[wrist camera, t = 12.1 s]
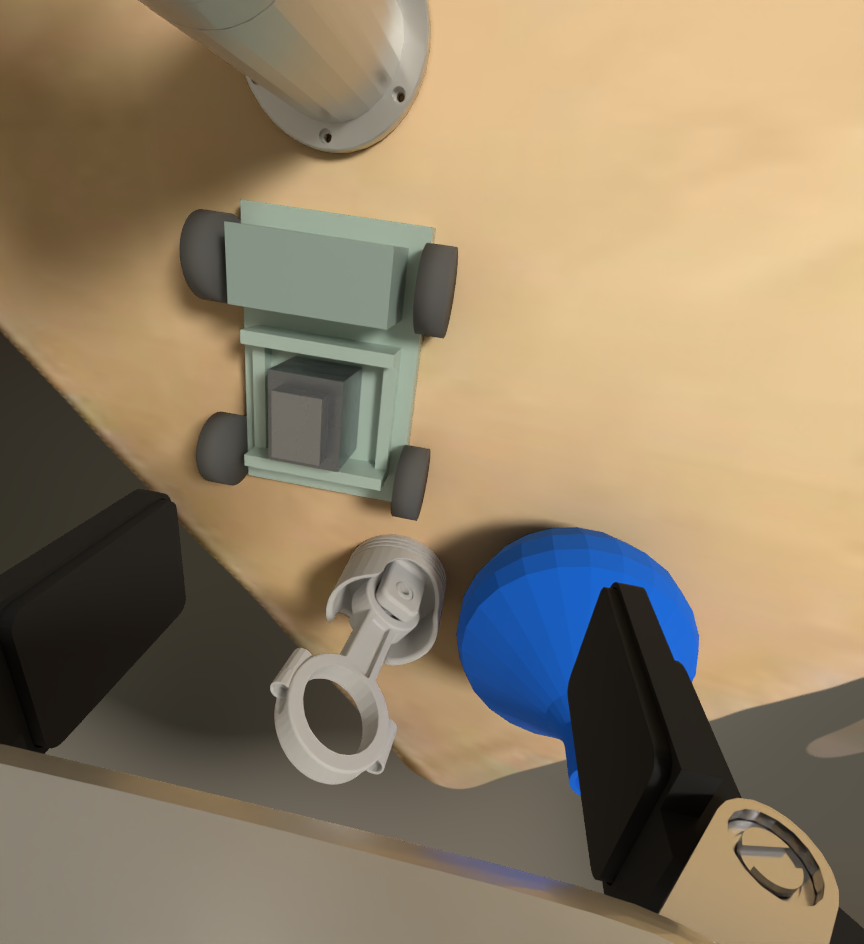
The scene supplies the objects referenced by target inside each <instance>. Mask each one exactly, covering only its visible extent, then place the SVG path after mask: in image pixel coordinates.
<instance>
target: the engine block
mask: <svg viewBox="0 0 864 944" xmlns="http://www.w3.org/2000/svg"><path fill="white" fill-rule="evenodd" d="M362 370H363V367H357V366H351V365H346V364H340V363H334V362H328V361H322V360H316V359H311V358H305V357H299V356H295V357H293V358H290V359H288V360H286V361H284V362H282V363H280V364H278V365H276V366H274V367H271V368H269V369H268V457H269V459H270V460H275V461H280V462H286V463H291V464H296V465H302V466H307V467H312V468H318V469H323V470H328V471H333V472H339V470H340V469H341V468H342V466H343V465H344V464H345V463H346V461H347V460H348V459H349V457H350V456H351V455H352V454H353V452H354V451H355V450H356V448H357V435H358V422H359V409H360V396H361V383H362Z"/></svg>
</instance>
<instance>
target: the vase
mask: <svg viewBox="0 0 864 944" xmlns="http://www.w3.org/2000/svg"><path fill="white" fill-rule="evenodd" d="M614 582H618V583H624V584H629V585H634V586H639V587H643V588H644V589H645V590H646V592H647V595H648V597H649V600H650V602H651V604H652V607H653V609H654V612H655V614H656V616H657V619H658V621H659V624H660V626H661V629H662V631H663V633H664V636H665V638H666V641H667V643H668V645H669V648H670V650H671V653H672V655H673V657H674V660H676V661H679V662H680V663H681V664H683V666H684V668H685V669H686V671H687V673H688V675H689V678H690V680H691V682H692V681H693V679H694V677H695V675H696V666H697V658H698V647H699V634H698V630H697V627H696V623H695V619H694V615H693V611H692V609H691V608H690V606H689V604H688V602H687V600H686V599H685V597H684V595H683V593H682V592H681V590H680V589H679V587H678V586H677V584H676V583H675V581H674V580H673V578H672V577H671V575H670V574H669V572H668V571H667V570H665V569H664V568H663V567H662V566H661V565H659V564H658V563H657V562H656V561H654V560H653V559H652V558H651V557H649V556H648V555H647V554H646V553H644V552H642V551H640V550H639V549H637V548H635V547H633V546H631V545H629V544H627V543H625V542H623V541H621V540H619V539H617V538H614V537H612V536H610V535H608V534H605V533H603V532H598V531H593V530H588V529H582V528H551V529H547V530H543V531H539V532H536V533H532V534H528V535H525V536H524V537H522V538H520V539H518V540H516V541H514V542H512V543H510V544H509V545H507V546H505V547H504V548H503V549H502V550H501V551H500V552H499V553H498V554H497V555H496V556H494V557H493V558H492V559H491V560H490V561H489V562H488V563H487V564H486V565H485V566H484V567H483V568H482V569H481V570H480V571H479V572H478V573H477V574H476V576H475V578H474V579H473V581H472V583H471V585H470V586H469V588H468V590H467V591H466V593H465V595H464V598H463V603H462V608H461V612H460V617H459V623H458V629H457V643H458V650H459V658H460V661H461V663H462V666H463V669H464V671H465V673H466V676H467V678H468V680H469V682H470V684H471V686H472V688H473V690H474V692H475V693H476V694H477V695H478V696H479V697H480V698H481V699H482V701H483V702H484V703H485V704H486V705H487V706H488V707H489V708H490V709H491V710H492V711H494V712H495V713H497V714H498V715H500V716H501V717H502V718H504V719H505V720H507V721H508V722H510V723H512V724H514V725H516V726H519V727H521V728H523V729H526V730H528V731H530V732H533V733H535V734H540V735H544V736H549V737H553V738H557V739H560V740H562V741H563V742H564V745H565V750H566V759H567V767H568V776H569V783H570V786H571V788H572V790H573V791H574V792H575V793H577V794H578V795H580V796H581V792H580V785H579V778H578V771H577V763H576V756H575V749H574V741H573V734H572V727H571V719H570V712H569V705H568V696H567V690H568V682H569V678H570V675H571V673H572V670H573V667H574V664H575V661H576V659H577V656H578V653H579V650H580V647H581V644H582V642H583V639H584V636H585V633H586V630H587V628H588V625H589V622H590V619H591V616H592V614H593V611H594V608H595V605H596V602H597V599H598V597H599V594H600V591H601V589H602V588H603V587H607V588H610V587H611V585H612V584H613V583H614Z"/></svg>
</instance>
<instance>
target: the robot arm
mask: <svg viewBox="0 0 864 944" xmlns="http://www.w3.org/2000/svg"><path fill="white" fill-rule="evenodd" d="M138 1H140V2H141V3H143V4H144V5H146V6H147V7H148V8H149V9H151V10H152V11H153V12H155V13H156V14H158V15H159V16H161V17H162V18H164V19H165V20H166V21H168V22H169V23H171V24H172V25H174V26H175V27H177V28H178V29H179V30H181V31H182V32H184V33H185V34H187V35H188V36H190V37H191V38H192V39H194V40H195V41H197V42H198V43H200V44H201V45H203V46H204V47H205V48H207V49H208V50H210V51H211V52H213V53H214V54H216V55H217V56H218V57H220V58H221V59H223V60H224V61H226V62H227V63H229V64H230V65H231V66H233V67H234V68H236V69H237V70H239V71H240V72H242V73H243V74H244V75H245V77H246V80H247V82H248V85H249V87H250V90H251V91H252V93H253V95H254V96H255V98H256V100H257V102H258V103H259V105H260V107H261V108H262V109H263V110H264V112H265V113H266V114H267V115H268V117H269V118H270V119H271V120H272V121H273V123H274V124H276V125H277V126H278V127H279V128H280V129H281V130H283V131H284V132H285V133H286V134H287V135H288V136H290V137H292V138H293V139H295V140H297V141H298V142H300V143H302V144H304V145H307V146H309V147H311V148H313V149H316V150H319V151H324V152H330V153H351V152H354V151H358V150H361V149H365V148H368V147H369V146H371V145H373V144H375V143H377V142H379V141H380V140H382V139H383V138H385V137H386V136H387V135H388V134H389V133H390V132H392V131H393V130H394V129H395V128H396V127H397V126H398V125H399V123H400V122H401V121H402V120H403V118H404V117H405V116H406V115H407V113H408V112H409V110H410V108H411V106H412V105H413V103H414V101H415V99H416V97H417V95H418V93H419V91H420V88H421V85H422V82H423V79H424V76H425V73H426V69H427V63H428V58H429V52H430V36H431V21H430V12H429V4H428V0H138ZM401 94H403V95H404V96H405V99H404V101H403V102H398V97H399V95H401ZM328 135H331V136H332V138H331V141H330V142H329V143H328V142H327V136H328ZM185 598H186V595H185V586H184V576H183V567H182V557H181V547H180V537H179V527H178V517H177V508H176V505H175V503H173V502H171V500H170V498H169V496H168V495H166V494H164V493H159V492H154V491H149V490H144V489H138V490H135V491H133V492H132V493H130V494H128V495H127V496H125V497H124V498H122V499H120V500H119V501H117V502H116V503H114V504H112V505H111V506H109V507H108V508H106V509H105V510H103V511H101V512H100V513H98V514H97V515H95V516H94V517H92V518H90V519H89V520H87V521H85V522H84V523H82V524H81V525H79V526H77V527H76V528H74V529H73V530H71V531H69V532H68V533H66V534H65V535H63V536H61V537H60V538H58V539H57V540H55V541H54V542H52V543H50V544H49V545H47V546H46V547H44V548H42V549H41V550H39V551H38V552H36V553H35V554H33V555H31V556H30V557H28V558H27V559H25V560H23V561H22V562H20V563H18V564H17V565H15V566H14V567H12V568H11V569H9V570H7V571H6V572H4V573H3V574H1V575H0V944H864V929H863V928H862V927H861V926H860V925H859V924H858V923H857V922H855V921H854V920H853V919H852V918H851V917H850V916H849V915H847V914H846V913H845V912H844V911H843V910H842V909H841V908H839V890H838V887H837V884H836V881H835V878H834V875H833V872H832V870H831V868H830V867H829V865H828V863H827V862H826V860H825V858H824V857H823V855H822V853H821V852H820V851H819V850H818V848H817V847H816V846H815V845H814V843H813V842H812V841H811V840H810V839H809V837H808V836H807V835H806V834H805V833H804V832H803V831H802V830H800V829H799V828H798V827H797V826H796V825H795V824H794V823H792V822H791V821H790V820H789V819H788V818H786V817H784V816H783V815H782V814H780V813H779V812H777V811H775V810H774V809H772V808H771V807H768V806H766V805H764V804H761V803H759V802H757V801H754V800H749V799H742V798H741V796H740V793H739V791H738V789H737V786H736V784H735V782H734V779H733V777H732V775H731V773H730V770H729V768H728V766H727V763H726V761H725V759H724V756H723V754H722V752H721V749H720V747H719V745H718V742H717V740H716V738H715V736H714V733H713V731H712V729H711V726H710V724H709V722H708V719H707V717H706V715H705V712H704V710H703V708H702V705H701V703H700V701H699V699H698V696H697V694H696V692H695V689H694V687H693V685H692V682H691V680H690V678H689V675H688V673H687V671H686V669H685V668H684V666H683V664H681V663H680V662H679V661H676V660H674V657H673V655H672V653H671V650H670V648H669V645H668V643H667V641H666V638H665V636H664V633H663V631H662V629H661V626H660V624H659V621H658V619H657V616H656V614H655V612H654V609H653V607H652V604H651V602H650V600H649V597H648V595H647V592H646V590H645V589H644V588H643V587H639V586H634V585H629V584H624V583H618V582H614V583H613V584H612V585H611V587H610V588H607V587H603V588H602V589H601V591H600V594H599V597H598V599H597V602H596V605H595V608H594V611H593V614H592V616H591V619H590V622H589V625H588V628H587V630H586V633H585V636H584V639H583V642H582V644H581V647H580V650H579V653H578V656H577V659H576V661H575V664H574V667H573V670H572V673H571V675H570V678H569V682H568V690H567V696H568V705H569V712H570V719H571V727H572V734H573V741H574V749H575V756H576V763H577V771H578V778H579V785H580V792H581V800H582V806H583V814H584V822H585V829H586V836H587V844H588V851H589V858H590V866H591V871H592V874H593V877H594V878H595V879H596V880H600V881H602V882H603V889H604V894H601V893H598V892H595V891H592V890H589V889H586V888H583V887H579V886H576V885H572V884H568V883H565V882H561V881H557V880H553V879H550V878H546V877H542V876H539V875H535V874H531V873H527V872H524V871H520V870H516V869H512V868H509V867H505V866H501V865H498V864H494V863H490V862H486V861H482V860H479V859H475V858H471V857H467V856H462V855H459V854H454V853H451V852H447V851H443V850H439V849H435V848H430V847H426V846H423V845H418V844H414V843H410V842H406V841H402V840H398V839H394V838H390V837H386V836H382V835H378V834H374V833H370V832H366V831H362V830H357V829H353V828H350V827H346V826H342V825H337V824H334V823H330V822H326V821H322V820H318V819H313V818H309V817H305V816H301V815H297V814H293V813H289V812H285V811H280V810H276V809H272V808H268V807H264V806H260V805H256V804H251V803H247V802H243V801H239V800H235V799H231V798H227V797H223V796H218V795H214V794H210V793H206V792H201V791H197V790H194V789H190V788H185V787H181V786H177V785H172V784H169V783H164V782H160V781H156V780H152V779H148V778H144V777H139V776H135V775H131V774H126V773H122V772H118V771H114V770H110V769H106V768H101V767H97V766H93V765H88V764H84V763H80V762H76V761H71V760H67V759H63V758H58V757H55V756H50V755H46V754H45V752H46V751H47V750H48V749H49V748H54V747H56V746H58V745H60V744H61V743H62V742H63V741H64V740H65V739H66V738H67V737H68V736H69V734H70V733H71V732H72V731H73V730H74V729H75V728H76V727H77V726H78V725H79V724H80V723H81V722H82V720H83V719H84V718H85V717H86V716H87V715H88V714H89V713H90V712H91V711H92V710H93V708H94V707H95V706H96V705H97V704H98V703H99V702H100V701H101V700H102V699H103V698H104V696H105V695H106V694H107V693H108V692H109V691H110V690H111V689H112V688H113V687H114V686H115V684H116V683H117V682H118V681H119V680H120V679H121V678H122V677H123V676H124V674H125V673H126V672H127V671H128V670H129V669H130V668H131V667H132V666H133V665H134V663H136V661H137V660H138V659H139V658H140V657H141V656H142V655H143V654H144V653H145V652H146V651H147V649H148V648H149V647H150V646H151V645H152V644H153V643H154V642H155V641H156V640H157V638H158V637H159V636H160V635H161V634H162V633H163V632H164V631H165V630H166V629H167V628H168V626H169V625H170V624H171V623H172V622H173V621H174V620H175V619H176V618H177V617H178V615H179V614H180V613H181V612H182V610H183V608H184V605H185V600H186V599H185Z"/></svg>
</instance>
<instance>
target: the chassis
mask: <svg viewBox="0 0 864 944" xmlns="http://www.w3.org/2000/svg"><path fill="white" fill-rule="evenodd" d="M240 207H241V221H240V220H239V218H237V217H236V216H235V215H233V214H230V213H223V212H217V211H210V210H203V209H199V210H196V211H194V212H192V213H191V214H190V215H189V217H188V218H187V220H186V221H185V224H184V226H183V229H182V233H181V239H180V260H181V266H182V270H183V274H184V277H185V280H186V282H187V284H188V286H189V287H190V289H191V290H192V292H193V293H194V294H195V295H196V296H198V297H199V298H201V299H205V300H211V301H217V302H223V303H228V304H231V305H237V306H243V307H244V329H240V343H241V344H245V371H246V404H247V417H246V416H242V415H237V414H231V413H226V412H217V413H215V414H213V415H212V416H211V417H210V418H209V419H208V420H207V421H206V423H205V424H204V426H203V428H202V430H201V433H200V436H199V439H198V444H197V451H196V460H197V467H198V470H199V473H200V474H201V476H202V477H203V478H204V479H205V480H207V481H211V482H217V483H222V484H227V485H236V484H238V483H240V482H241V481H242V480H243V479H244V478H245V476H246V475H247V473H248V471H249V475H251V476H256V477H262V478H267V479H272V480H278V481H283V482H288V483H293V484H299V485H304V486H309V487H315V488H320V489H325V490H330V491H336V492H341V493H346V494H352V495H357V496H362V497H367V498H373V499H378V500H383V501H389V502H391V514H392V516H395V517H400V518H405V519H410V520H415V521H417V519H418V517H419V514H420V510H421V506H422V502H423V498H424V493H425V488H426V483H427V477H428V471H429V463H430V449H426V448H420V447H415V446H409V441H410V433H411V425H412V417H413V409H414V401H415V392H416V384H417V376H418V368H419V360H420V352H421V344H422V335H426V336H432V337H438V338H444V337H445V335H446V332H447V328H448V324H449V319H450V315H451V309H452V304H453V298H454V291H455V284H456V275H457V265H458V248H457V247H453V246H446V245H439V244H434V238H435V230H436V229H435V228H433V227H426V226H419V225H412V224H406V223H399V222H392V221H385V220H378V219H371V218H364V217H357V216H351V215H344V214H337V213H330V212H323V211H316V210H309V209H303V208H296V207H289V206H282V205H275V204H268V203H261V202H255V201H248V200H241V199H240ZM295 356H299V357H305V358H311V359H316V360H322V361H328V362H334V363H340V364H346V365H351V366H357V367H363V370H362V383H361V396H360V409H359V422H358V435H357V448H356V450H355V451H354V452H353V454H352V455H351V456H350V457H349V459H348V460H347V461H346V463H345V464H344V465H343V466H342V468H341V469H340V470H339V472H333V471H328V470H323V469H318V468H312V467H307V466H302V465H296V464H291V463H286V462H280V461H275V460H270V459H269V457H268V369H269V368H271V367H274V366H276V365H278V364H280V363H282V362H284V361H286V360H288V359H290V358H293V357H295Z"/></svg>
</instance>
